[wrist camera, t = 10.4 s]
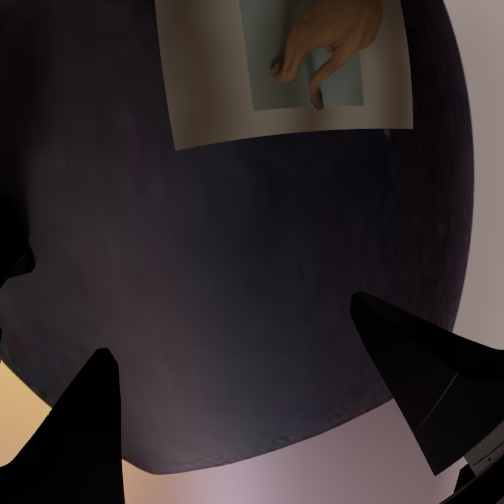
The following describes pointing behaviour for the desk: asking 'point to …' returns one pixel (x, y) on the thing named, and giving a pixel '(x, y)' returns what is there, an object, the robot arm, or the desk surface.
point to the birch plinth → (259, 77)
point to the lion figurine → (328, 38)
